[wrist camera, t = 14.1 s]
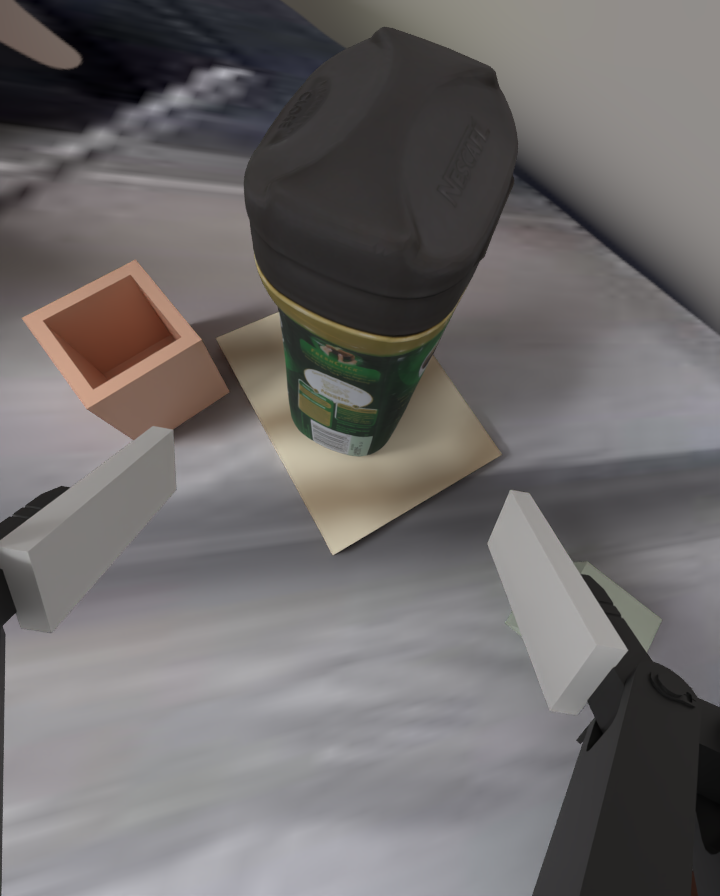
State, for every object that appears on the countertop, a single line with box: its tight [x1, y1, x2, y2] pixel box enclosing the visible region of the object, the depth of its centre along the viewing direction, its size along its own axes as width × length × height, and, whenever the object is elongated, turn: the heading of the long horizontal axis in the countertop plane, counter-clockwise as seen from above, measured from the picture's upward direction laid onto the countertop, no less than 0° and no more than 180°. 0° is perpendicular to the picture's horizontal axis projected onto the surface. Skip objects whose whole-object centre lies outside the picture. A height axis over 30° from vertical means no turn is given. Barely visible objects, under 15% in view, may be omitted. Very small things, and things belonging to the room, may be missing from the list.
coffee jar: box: [244, 27, 518, 456], centre depth 19 cm, size 10×8×19 cm
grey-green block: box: [505, 562, 662, 652], centre depth 23 cm, size 5×5×5 cm
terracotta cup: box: [22, 260, 230, 440], centre depth 25 cm, size 7×7×7 cm
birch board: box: [216, 312, 502, 555], centre depth 29 cm, size 18×14×1 cm
